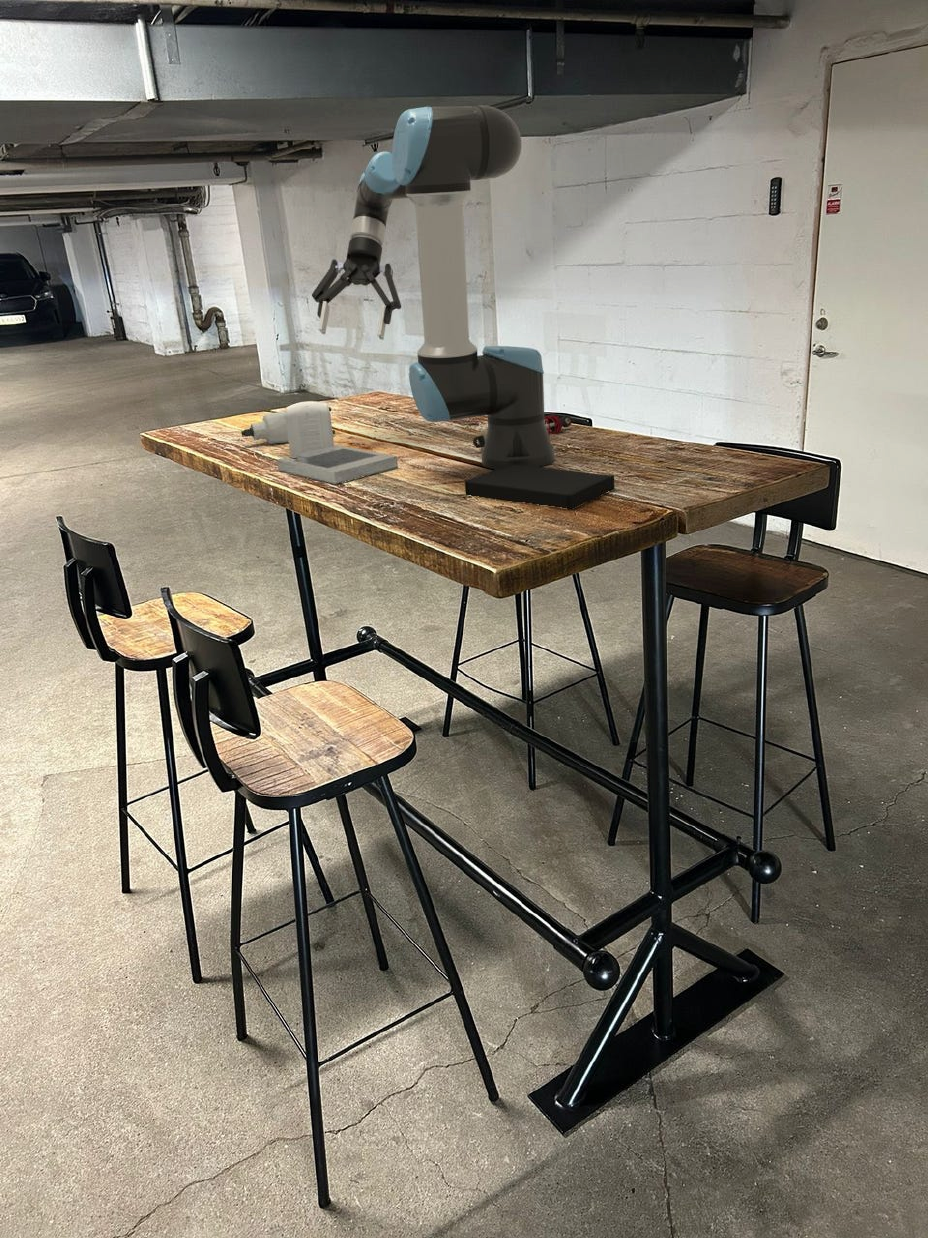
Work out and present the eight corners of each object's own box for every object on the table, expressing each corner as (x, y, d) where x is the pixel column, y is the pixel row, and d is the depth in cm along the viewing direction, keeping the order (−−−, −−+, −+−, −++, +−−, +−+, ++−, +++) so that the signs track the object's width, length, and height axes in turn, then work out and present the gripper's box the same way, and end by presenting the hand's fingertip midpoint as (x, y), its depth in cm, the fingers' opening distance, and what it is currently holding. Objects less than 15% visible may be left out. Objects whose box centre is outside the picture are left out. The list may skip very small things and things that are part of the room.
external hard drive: (571, 512, 150) (570, 495, 149) (465, 497, 164) (464, 481, 163) (614, 491, 160) (614, 475, 159) (511, 478, 174) (510, 463, 173)
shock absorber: (560, 413, 214) (464, 435, 197) (573, 407, 210) (476, 429, 193) (566, 432, 214) (470, 456, 197) (579, 427, 210) (483, 450, 193)
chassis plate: (398, 467, 188) (396, 456, 187) (335, 484, 179) (334, 472, 178) (338, 455, 204) (337, 445, 203) (278, 470, 194) (276, 459, 193)
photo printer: (335, 451, 209) (328, 398, 204) (335, 455, 205) (328, 401, 200) (291, 456, 208) (283, 402, 203) (290, 460, 204) (282, 405, 199)
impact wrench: (226, 425, 238) (241, 415, 215) (308, 413, 246) (331, 402, 223) (233, 455, 239) (248, 448, 216) (314, 442, 247) (337, 434, 224)
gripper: (423, 255, 201) (408, 345, 200) (318, 247, 205) (303, 336, 204) (416, 238, 194) (401, 332, 192) (308, 230, 198) (292, 322, 196)
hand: (350, 334), depth 198 cm, fingers open, 13 cm apart
